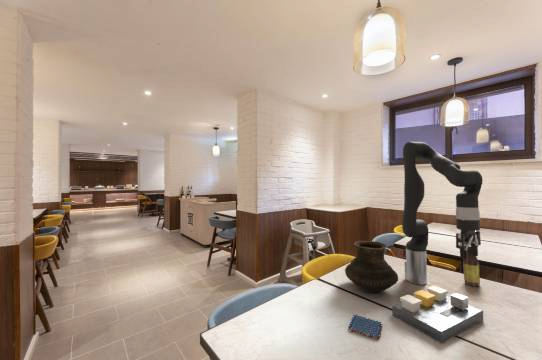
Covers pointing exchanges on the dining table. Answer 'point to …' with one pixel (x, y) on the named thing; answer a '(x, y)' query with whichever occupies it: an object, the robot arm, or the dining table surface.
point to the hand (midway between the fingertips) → (469, 257)
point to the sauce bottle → (471, 269)
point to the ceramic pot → (371, 268)
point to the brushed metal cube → (459, 301)
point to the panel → (439, 319)
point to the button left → (411, 303)
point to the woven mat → (366, 327)
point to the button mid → (425, 297)
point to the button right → (438, 292)
